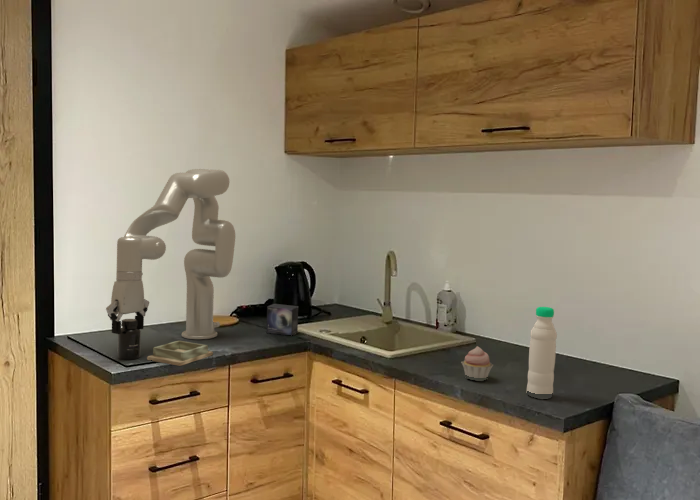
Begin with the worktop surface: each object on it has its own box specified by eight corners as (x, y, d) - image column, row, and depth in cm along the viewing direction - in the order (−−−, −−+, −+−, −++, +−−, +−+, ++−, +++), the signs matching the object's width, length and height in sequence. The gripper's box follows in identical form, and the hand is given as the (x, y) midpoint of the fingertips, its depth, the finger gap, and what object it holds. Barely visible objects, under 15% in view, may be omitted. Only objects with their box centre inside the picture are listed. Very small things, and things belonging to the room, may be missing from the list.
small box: (265, 333, 254) (266, 306, 253) (272, 330, 261) (273, 303, 260) (291, 336, 251) (292, 308, 250) (298, 333, 257) (299, 305, 256)
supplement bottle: (133, 361, 210) (133, 322, 209) (113, 359, 211) (113, 321, 210) (144, 355, 217) (144, 318, 216) (124, 354, 218) (125, 317, 217)
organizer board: (181, 349, 226) (181, 339, 226) (212, 354, 221) (213, 344, 220) (147, 359, 212) (147, 348, 212) (180, 365, 206) (180, 354, 206)
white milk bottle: (527, 399, 186) (533, 309, 184) (525, 391, 193) (530, 304, 191) (554, 401, 185) (560, 310, 183) (550, 393, 192) (556, 306, 190)
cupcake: (482, 374, 210) (484, 342, 209) (497, 382, 201) (499, 349, 200) (455, 375, 207) (456, 343, 206) (468, 384, 198) (470, 350, 197)
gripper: (139, 273, 221) (138, 325, 222) (98, 277, 205) (97, 333, 206) (157, 275, 217) (156, 328, 219) (117, 280, 202) (116, 337, 203)
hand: (127, 331), depth 213 cm, fingers open, 9 cm apart
